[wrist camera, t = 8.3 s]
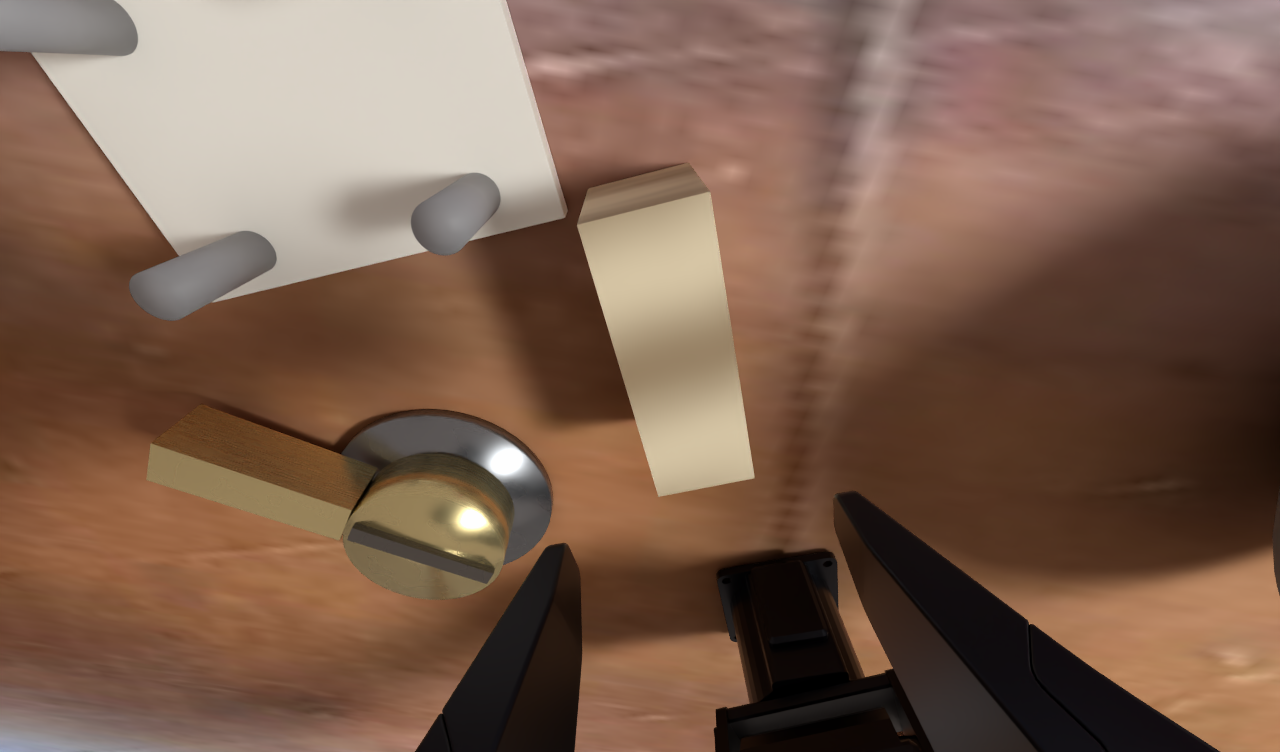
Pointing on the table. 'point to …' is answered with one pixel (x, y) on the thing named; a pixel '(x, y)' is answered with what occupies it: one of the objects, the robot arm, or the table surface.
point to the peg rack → (299, 130)
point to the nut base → (472, 444)
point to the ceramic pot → (1277, 543)
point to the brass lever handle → (350, 501)
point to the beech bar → (670, 324)
